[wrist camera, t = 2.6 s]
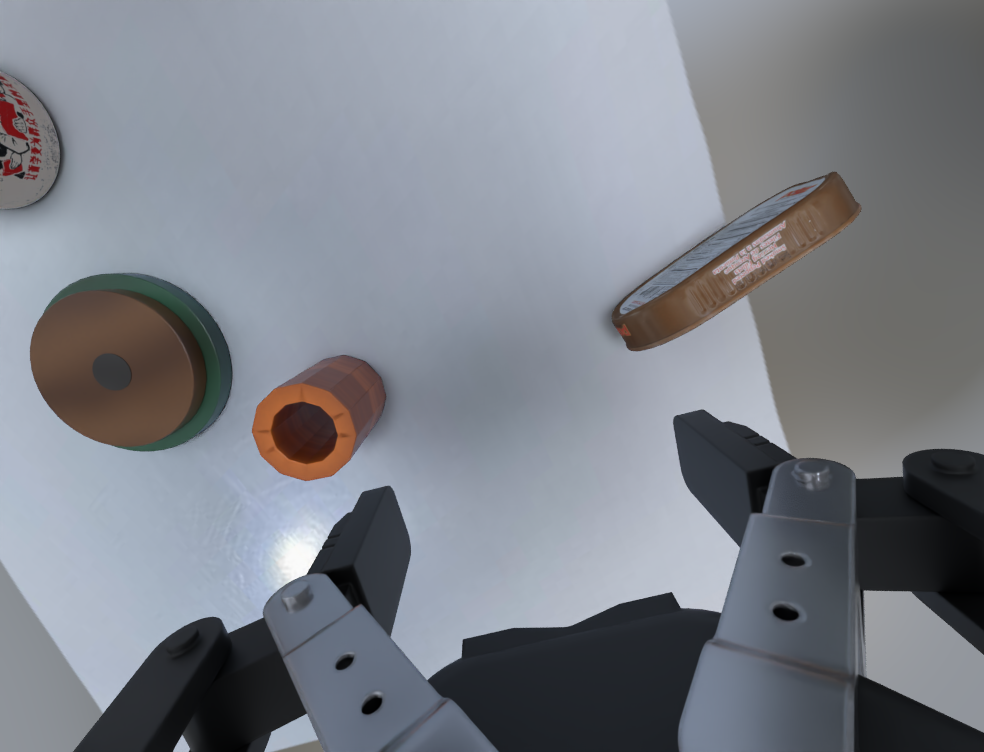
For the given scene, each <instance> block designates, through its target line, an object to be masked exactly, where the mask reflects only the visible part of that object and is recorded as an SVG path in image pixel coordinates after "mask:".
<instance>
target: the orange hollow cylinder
mask: <svg viewBox="0 0 984 752" xmlns="http://www.w3.org/2000/svg"><path fill="white" fill-rule="evenodd" d="M385 400H386V394H385V391H384V387H383V384H382V380H381V377H380V376H379V375H378V374H377V373H376V372H375V371H374V370H373V369H372V368H371V367H370V366H369V365H368V364H367V363H366V362H365V361H362V360H359V359H355V358H352V357H349V356H346V355H342V356H337V357H333V358H328V359H324V360H322V361H320V362H319V363H317V364H315V365H314V366H312V367H310V368H309V369H307V370H305V371H304V372H302V373H300V374H299V375H297V376H295V377H294V378H292V379H290V380H289V381H287V382H285V383H284V384H282V385H280V386H279V387H277V388H275V389H274V390H273V391H272V392H271V393H270V394H269V395H268V396H267V397H266V398H265V399H264V400H263V401H262V402H261V403H260V404H259V405H258V406H257V409H256V414H255V418H254V423H253V428H252V433H253V436H254V439H255V441H256V444H257V447H258V450H259V452H260V455H261V456H262V457H263V458H264V459H265V460H266V461H267V462H268V463H269V464H270V465H272V466H273V467H274V468H275V469H276V470H277V471H278V472H279V473H281V474H283V475H287V476H290V477H294V478H297V479H301V480H304V481H310V480H315V479H319V478H324V477H329V476H332V475H334V474H335V473H336V472H337V471H338V470H340V469H341V468H342V467H343V466H344V465H345V464H346V463H347V462H348V461H350V459H351V458H352V456H353V455H354V454H355V452H356V451H357V449H358V448H359V447H360V445H361V444H362V442H363V441H364V439H365V438H366V437H367V435H368V434H369V432H370V431H371V430H372V428H373V427H374V425H375V424H376V422H377V421H378V420H379V418H380V417H381V415H382V411H383V407H384V404H385Z"/></svg>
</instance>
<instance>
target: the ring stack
mask: <svg viewBox="0 0 984 752" xmlns="http://www.w3.org/2000/svg"><path fill="white" fill-rule="evenodd" d="M30 361H31V369H32V372H33V376H34V379H35V382H36V384H37V387H38V389H39V391H40V393H41V395H42V396H43V398H44V400H45V401H46V402H47V404H48V405H49V407H50V408H51V409H52V410H53V411H54V413H55V414H56V415H57V416H58V417H59V418H60V419H61V420H63V421H64V422H65V423H66V424H67V425H69V426H70V427H71V428H73V429H74V430H76V431H77V432H79V433H81V434H82V435H84V436H86V437H88V438H90V439H93V440H95V441H98V442H101V443H104V444H109V445H112V446H115V447H118V448H122V449H127V450H133V451H158V450H165V449H168V448H172V447H175V446H177V445H180V444H182V443H184V442H186V441H188V440H189V439H191V438H193V437H194V436H196V435H198V434H199V433H201V432H202V431H204V430H205V429H206V428H208V427H209V426H210V425H211V424H212V423H213V422H214V421H215V420H216V418H217V417H218V416H219V414H220V413H221V411H222V410H223V408H224V406H225V404H226V401H227V399H228V396H229V392H230V388H231V379H232V369H231V361H230V355H229V351H228V348H227V345H226V342H225V340H224V338H223V335H222V333H221V331H220V330H219V328H218V326H217V324H216V323H215V321H214V320H213V319H212V317H211V316H210V315H209V313H208V312H207V311H206V310H205V309H204V308H203V307H202V306H201V305H200V304H199V303H198V302H197V301H196V300H195V299H193V298H192V297H191V296H190V295H188V294H187V293H185V292H184V291H182V290H181V289H179V288H178V287H176V286H174V285H172V284H170V283H168V282H166V281H163V280H160V279H158V278H155V277H151V276H147V275H142V274H133V273H118V274H101V275H95V276H90V277H87V278H84V279H80V280H78V281H76V282H74V283H72V284H70V285H69V286H67V287H66V288H64V289H63V290H62V291H60V292H59V293H58V294H57V295H56V296H55V297H54V298H53V299H52V301H51V302H50V303H49V305H48V306H47V307H46V309H45V311H44V313H43V315H42V317H41V318H40V319H39V321H38V323H37V325H36V327H35V329H34V332H33V335H32V339H31V345H30Z"/></svg>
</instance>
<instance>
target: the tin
mask: <svg viewBox="0 0 984 752" xmlns="http://www.w3.org/2000/svg"><path fill="white" fill-rule="evenodd" d="M860 212H861V205H860V204H859V203H857V202H856V201H855V199H854V197H853V196H852V194H851V192H850V191H849V189H848V187H847V186H846V184H845V182H844V181H843V179H842V178H841V176H840V175H839V174H838V173H837V172H831V173H829V174H828V175H825V176H822V177H819V178H816V179H813V180H811V181H808V182H804V183H799V184H797V185H794V186H791V187H789V188H787V189H785V190H783V191H782V192H780V193H778V194H776V195H774V196H772V197H771V198H769V199H767V200H765V201H764V202H762V203H760V204H759V205H757V206H755V207H754V208H752V209H751V210H749V211H747V212H746V213H744V214H743V215H741V216H740V217H738V218H737V219H735V220H734V221H732V222H731V223H729V224H728V225H726V226H725V227H724V228H722V229H721V230H719V231H718V232H716V233H715V234H713V235H712V236H710V237H709V238H707V239H706V240H704V241H703V242H701V243H700V244H698V245H697V246H695V247H694V248H692V249H691V250H690V251H688V252H687V253H685V254H684V255H682V256H681V257H679V258H678V259H677V260H675V261H674V262H672V263H671V264H669V265H668V266H667V267H665V268H664V269H662V270H661V271H660V272H658V273H657V274H655V275H654V276H653V277H651V278H650V279H648V280H647V281H646V282H644V283H643V284H642V285H640V286H639V287H638V288H636V289H635V290H634V291H633V292H631V293H630V294H629V295H628V296H626V297H625V298H624V299H623V300H622V301H621V302H620V303H619V304H618V305H617V306H616V308H615V309H614V310H613V312H612V322H613V324H614V326H615V327H616V329H617V330H618V332H619V333H620V335H621V336H622V338H623V339H624V341H625V342H626V346H627V348H628V349H629V350H631V351H642V350H646V349H650V348H654V347H657V346H659V345H662V344H664V343H667V342H669V341H671V340H673V339H675V338H677V337H679V336H681V335H683V334H685V333H687V332H689V331H691V330H692V329H694V328H696V327H698V326H700V325H701V324H703V323H704V322H706V321H708V320H709V319H711V318H712V317H714V316H715V315H717V314H718V313H720V312H721V311H723V310H724V309H726V308H727V307H729V306H730V305H732V304H733V303H735V302H736V301H738V300H739V299H741V298H743V297H744V296H745V295H747V294H749V293H750V292H752V291H753V290H754V289H756V288H758V287H759V286H760V285H762V284H763V283H765V282H766V281H768V280H769V279H771V278H772V277H774V276H775V275H777V274H779V273H780V272H781V271H783V270H785V269H786V268H787V267H789V266H791V265H792V264H794V263H795V262H797V261H798V260H800V259H801V258H803V257H804V256H806V255H807V254H809V253H810V252H812V251H813V250H815V249H816V248H818V247H820V246H821V245H823V244H824V243H826V242H827V241H829V240H830V239H832V238H833V237H834V236H836V235H837V234H839V233H840V232H841V231H842V230H844V229H845V228H846V227H847V226H848V225H849V224H850V223H852V222H853V221H854V220H855V218H856V217H857V216H858V215H859V213H860Z"/></svg>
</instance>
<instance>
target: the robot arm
mask: <svg viewBox="0 0 984 752" xmlns="http://www.w3.org/2000/svg"><path fill="white" fill-rule="evenodd" d="M673 425H674V431H675V437H676V443H677V449H678V455H679V461H680V466H681V471H682V475H683V478H684V480H685V483H686V485H687V487H688V488H689V490H690V491H691V493H692V494H693V495H694V496H695V497H696V498H697V499H698V500H699V502H700V503H701V504H702V505H703V506H704V507H705V508H706V510H707V511H708V512H709V513H710V514H711V515H712V516H713V517H714V519H715V520H716V521H717V522H718V523H719V524H720V525H721V527H722V528H723V529H724V530H725V531H726V532H727V533H728V534H729V536H730V537H731V538H732V539H733V540H734V541H735V542H736V543H737V545H738V546H739V547H740V551H739V554H738V558H737V561H736V564H735V568H734V571H733V575H732V578H731V582H730V585H729V589H728V592H727V596H726V599H725V603H724V606H723V610H722V613H719V612H714V611H708V610H703V609H690V608H680V606H679V604H678V602H677V601H676V599H675V597H674V595H673V594H672V592H670V593H666V594H661V595H657V596H652V597H648V598H644V599H639V600H635V601H630V602H626V603H622V604H618V605H616V606H614V607H612V608H610V609H607V610H605V611H603V612H601V613H599V614H597V615H594V616H592V617H590V618H588V619H586V620H583V621H581V622H579V623H577V624H575V625H572V626H569V627H553V628H511V629H507V630H503V631H498V632H494V633H489V634H485V635H481V636H476V637H472V638H467V639H463V645H462V658H460V659H458V660H456V661H454V662H453V663H451V664H449V665H447V666H446V667H444V668H443V669H441V670H440V671H438V672H437V673H436V674H434V675H433V676H432V677H430V678H429V679H428V680H426V679H425V677H424V676H423V675H422V674H421V673H420V672H419V670H418V669H417V668H416V667H415V666H414V665H413V663H412V662H411V661H410V660H409V659H408V657H407V656H406V655H405V654H404V653H403V652H402V650H401V649H400V648H399V647H398V646H397V645H396V643H395V642H394V641H393V640H392V639H391V638H390V637H391V633H392V629H393V625H394V621H395V617H396V613H397V609H398V605H399V601H400V597H401V593H402V589H403V585H404V581H405V577H406V573H407V569H408V565H409V561H410V556H411V545H410V538H409V534H408V531H407V528H406V525H405V522H404V519H403V517H402V514H401V511H400V508H399V505H398V502H397V499H396V496H395V493H394V491H393V489H392V488H391V487H390V486H385V487H381V488H377V489H372V490H368V491H364V492H362V494H361V496H360V498H359V500H358V501H357V503H356V505H355V507H354V509H353V511H352V512H350V513H347V514H346V515H345V516H344V517H343V518H342V519H341V520H340V521H338V522H337V523H336V524H335V525H334V527H333V529H332V530H331V532H330V534H329V536H328V539H327V540H326V541H325V543H324V545H323V546H322V550H320V552H319V553H318V555H317V557H316V559H315V561H314V562H313V564H312V566H311V568H310V569H309V571H308V573H307V575H305V576H302V577H299V578H297V579H295V580H293V581H291V582H289V583H288V584H286V585H285V586H283V587H282V588H280V589H279V590H278V591H277V592H276V593H274V594H273V595H272V596H271V597H270V599H269V600H268V601H267V603H266V604H265V606H264V609H263V616H264V618H262V619H260V620H257V621H255V622H253V623H251V624H248V625H246V626H244V627H242V628H239V629H237V630H235V631H233V632H230V633H227V631H226V629H225V627H224V624H223V622H222V620H221V619H220V618H217V617H208V618H203V619H200V620H197V621H195V622H192V623H190V624H188V625H186V626H184V627H182V628H181V629H179V630H177V631H176V632H174V633H173V634H171V635H170V636H169V637H167V638H166V639H165V640H164V641H162V642H161V643H160V644H159V645H158V646H157V647H156V648H155V649H154V650H153V651H152V653H151V654H150V655H149V656H148V658H147V659H146V660H145V661H144V663H143V664H142V665H141V666H140V668H139V669H138V670H137V671H136V673H135V674H134V675H133V677H132V678H131V679H130V680H129V682H128V683H127V684H126V685H125V687H124V688H123V689H122V690H121V692H120V693H119V694H118V696H117V697H116V698H115V699H114V701H113V702H112V703H111V704H110V706H109V707H108V708H107V709H106V711H105V712H104V713H103V715H102V716H101V717H100V718H99V720H98V721H97V722H96V723H95V725H94V726H93V727H92V729H91V730H90V731H89V732H88V734H87V735H86V736H85V737H84V739H83V740H82V741H81V743H80V744H79V745H78V746H77V747H76V749H75V750H74V751H73V752H173V750H174V748H175V746H176V744H177V743H178V741H179V739H180V737H181V736H182V734H183V736H184V738H185V740H186V742H187V744H188V745H189V747H190V751H189V752H264V751H265V748H266V746H267V743H268V741H269V738H270V735H271V732H272V731H274V730H276V729H278V728H280V727H282V726H284V725H286V724H288V723H289V722H291V721H293V720H295V719H297V718H299V717H301V716H303V715H305V714H307V715H308V717H309V719H310V721H311V723H312V726H313V728H314V730H315V732H316V735H317V737H318V739H319V741H320V744H321V746H322V748H323V750H324V752H984V733H983V732H981V731H979V730H977V729H975V728H972V727H970V726H968V725H966V724H964V723H962V722H960V721H958V720H955V719H953V718H951V717H949V716H947V715H945V714H943V713H940V712H938V711H936V710H934V709H932V708H930V707H928V706H925V705H923V704H921V703H919V702H917V701H915V700H913V699H911V698H909V697H906V696H904V695H902V694H900V693H898V692H896V691H894V690H891V689H889V688H887V687H885V686H883V685H881V684H879V683H877V682H874V681H872V680H870V679H868V678H866V648H865V614H864V590H870V591H871V590H872V591H911V592H912V593H913V594H914V595H915V596H916V597H917V598H918V599H919V600H921V601H922V602H923V603H924V604H925V605H926V606H928V607H929V608H930V609H931V610H932V611H933V612H935V613H936V614H937V615H938V616H939V617H940V618H942V619H943V620H944V621H945V622H946V623H947V624H948V625H950V626H951V627H952V628H953V629H954V630H956V631H957V632H958V633H959V634H960V635H961V636H962V637H964V638H965V639H966V640H967V641H968V642H969V643H971V644H972V645H973V646H974V647H975V648H977V649H978V650H979V651H980V652H981V653H982V654H983V655H984V455H982V454H979V453H974V452H969V451H963V450H955V449H930V450H922V451H918V452H914V453H912V454H909V455H908V456H906V457H905V458H904V460H903V462H902V463H903V477H891V478H872V479H856V477H855V474H854V472H853V471H852V470H851V469H850V468H848V467H847V466H845V465H843V464H841V463H838V462H835V461H830V460H826V459H818V458H800V459H797V458H795V457H794V456H792V455H791V454H789V453H787V452H786V451H784V450H783V449H781V448H780V447H778V446H777V445H775V444H773V443H770V442H769V440H767V439H766V438H764V437H762V436H759V434H758V433H756V432H755V431H753V430H752V429H750V428H748V427H747V426H744V425H740V424H736V423H732V422H729V421H728V422H723V423H722V422H721V421H719V420H718V419H716V418H715V417H714V416H712V415H711V414H709V413H708V412H706V411H705V410H698V411H693V412H689V413H685V414H681V415H677V416H675V417H674V420H673Z"/></svg>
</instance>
